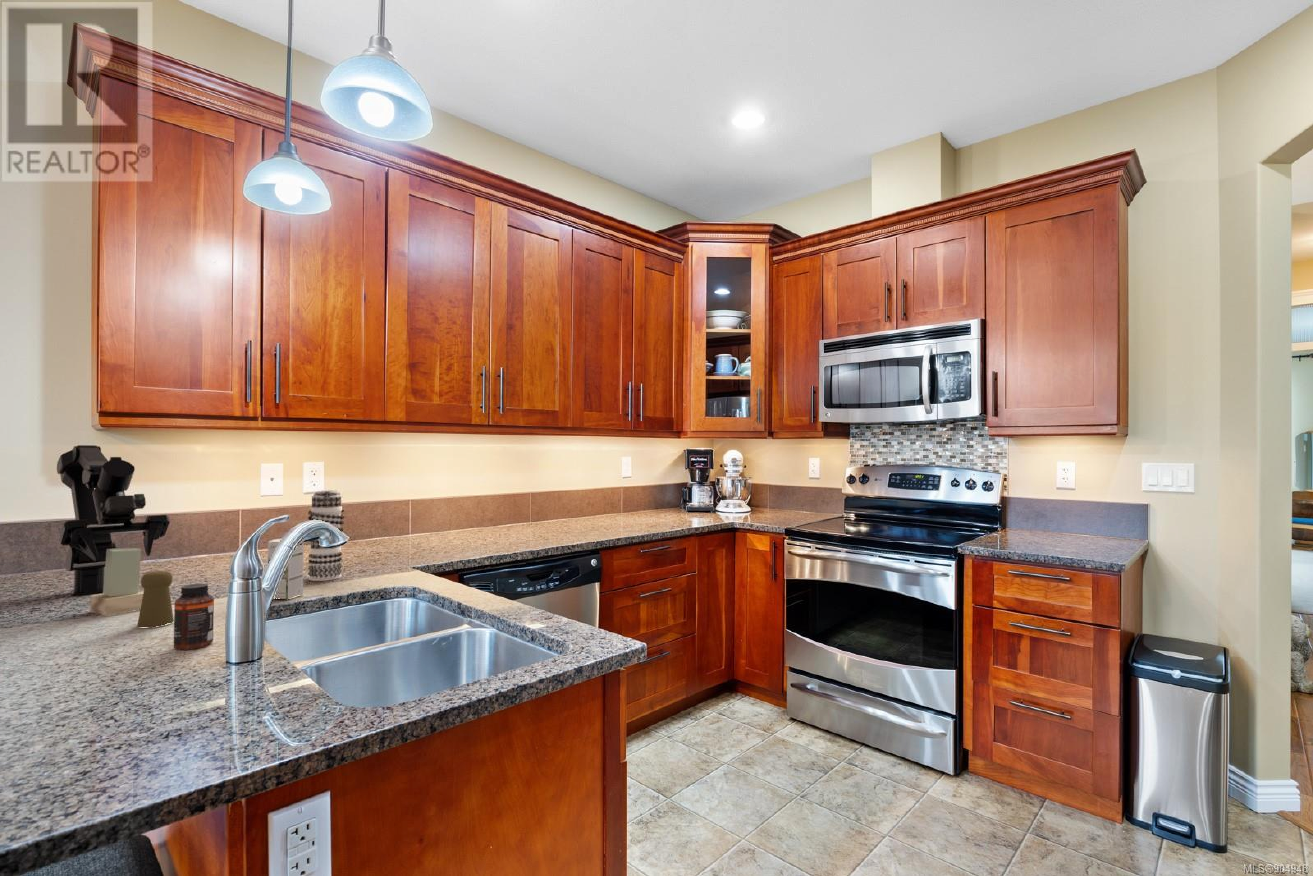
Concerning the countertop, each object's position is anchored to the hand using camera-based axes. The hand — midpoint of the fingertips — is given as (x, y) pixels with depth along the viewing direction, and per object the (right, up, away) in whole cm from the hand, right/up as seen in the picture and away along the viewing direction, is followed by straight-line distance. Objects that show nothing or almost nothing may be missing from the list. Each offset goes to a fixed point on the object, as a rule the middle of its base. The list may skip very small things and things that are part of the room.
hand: (123, 557), depth 140 cm
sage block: (-1, -8, 0) cm, 8 cm away
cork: (+16, -12, -11) cm, 23 cm away
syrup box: (+29, -13, +13) cm, 34 cm away
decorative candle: (+26, -13, +37) cm, 47 cm away
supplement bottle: (+35, -12, -25) cm, 44 cm away
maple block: (-1, -12, 0) cm, 12 cm away
